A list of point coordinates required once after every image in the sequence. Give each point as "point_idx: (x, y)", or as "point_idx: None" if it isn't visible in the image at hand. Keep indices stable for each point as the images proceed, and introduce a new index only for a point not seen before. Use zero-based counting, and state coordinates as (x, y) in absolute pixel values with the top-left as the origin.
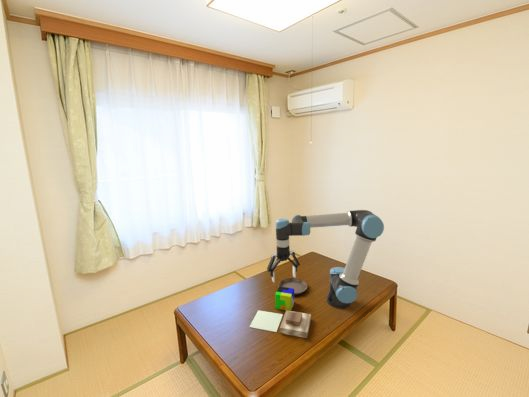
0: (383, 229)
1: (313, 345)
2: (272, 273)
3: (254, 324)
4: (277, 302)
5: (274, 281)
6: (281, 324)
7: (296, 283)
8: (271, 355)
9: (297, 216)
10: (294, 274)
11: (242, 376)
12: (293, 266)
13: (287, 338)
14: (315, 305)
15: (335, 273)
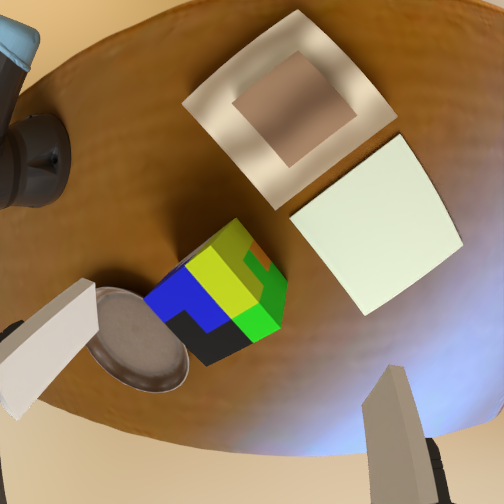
0: None
1: None
2: (426, 484)
3: (441, 243)
4: (277, 290)
5: (395, 373)
6: (376, 128)
7: (110, 347)
8: (474, 59)
9: None
10: (66, 310)
11: None
12: (5, 404)
13: (378, 71)
14: (113, 184)
15: None
